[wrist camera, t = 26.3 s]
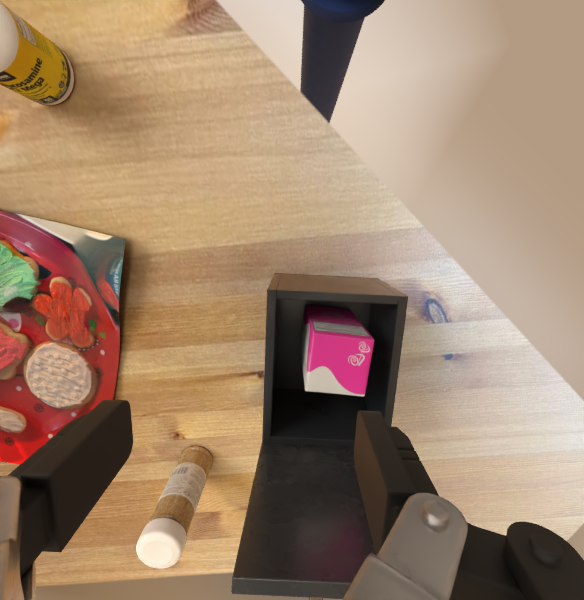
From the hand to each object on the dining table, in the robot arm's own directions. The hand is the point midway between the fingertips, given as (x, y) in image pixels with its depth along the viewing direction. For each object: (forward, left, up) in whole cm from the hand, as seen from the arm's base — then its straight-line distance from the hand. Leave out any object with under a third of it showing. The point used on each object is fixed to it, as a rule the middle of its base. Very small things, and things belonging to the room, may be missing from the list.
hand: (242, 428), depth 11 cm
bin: (+4, +7, -29) cm, 30 cm away
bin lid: (+9, +9, -10) cm, 16 cm away
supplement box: (+3, +7, -29) cm, 30 cm away
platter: (+21, -33, -29) cm, 49 cm away
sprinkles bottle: (+27, -2, -29) cm, 40 cm away
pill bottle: (-12, -32, -29) cm, 45 cm away
